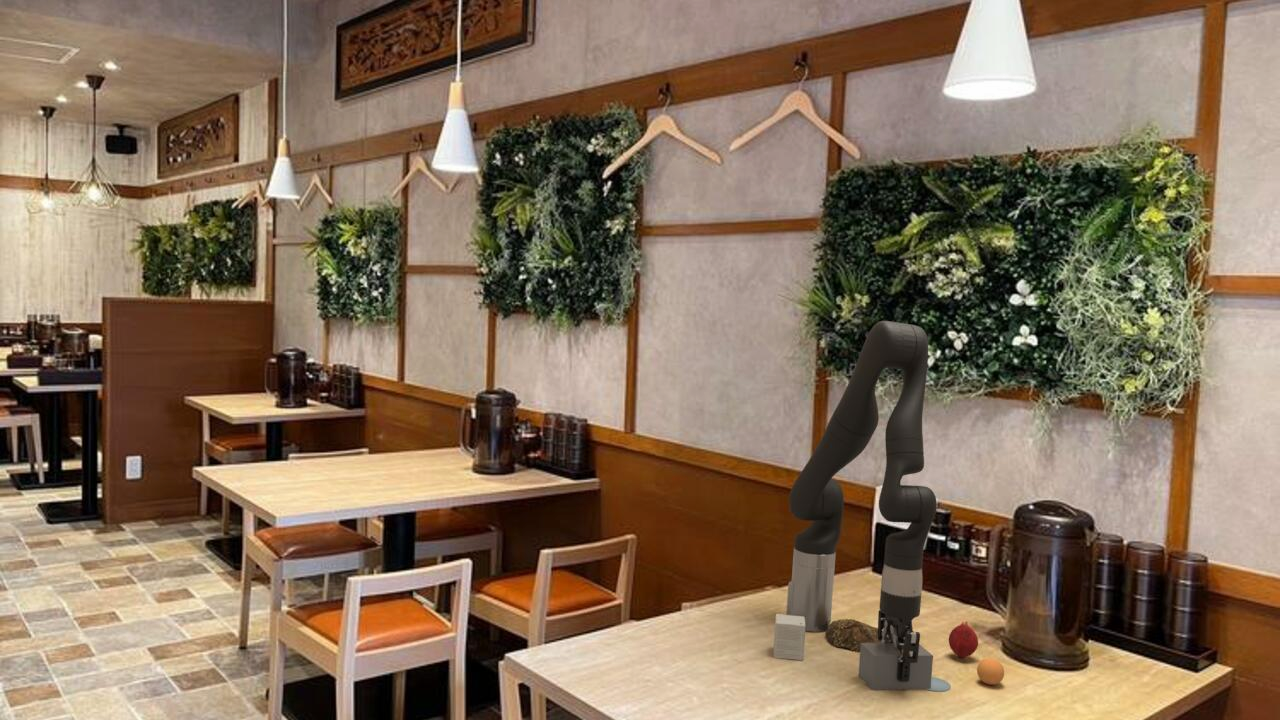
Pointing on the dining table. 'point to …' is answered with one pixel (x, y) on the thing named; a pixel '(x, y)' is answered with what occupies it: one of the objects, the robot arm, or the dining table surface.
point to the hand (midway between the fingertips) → (894, 673)
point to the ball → (990, 671)
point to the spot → (939, 685)
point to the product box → (789, 637)
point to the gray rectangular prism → (892, 668)
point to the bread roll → (851, 634)
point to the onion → (963, 640)
